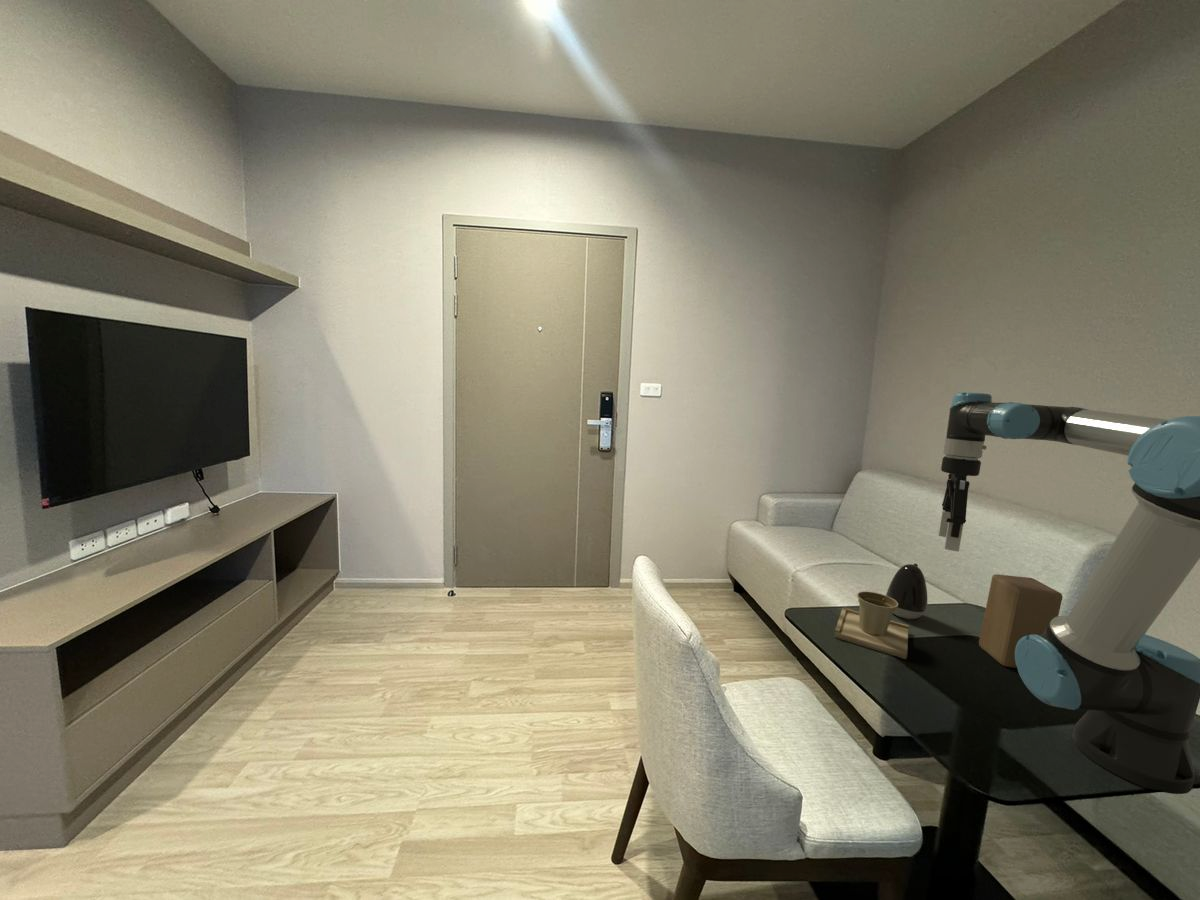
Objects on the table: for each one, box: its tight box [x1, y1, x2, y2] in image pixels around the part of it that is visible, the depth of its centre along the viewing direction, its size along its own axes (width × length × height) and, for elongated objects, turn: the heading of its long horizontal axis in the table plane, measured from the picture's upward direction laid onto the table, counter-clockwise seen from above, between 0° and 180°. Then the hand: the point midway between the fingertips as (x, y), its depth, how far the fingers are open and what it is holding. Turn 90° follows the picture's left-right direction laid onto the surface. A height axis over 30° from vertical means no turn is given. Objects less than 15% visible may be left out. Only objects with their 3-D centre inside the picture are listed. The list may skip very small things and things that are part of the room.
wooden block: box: [978, 573, 1063, 669], centre depth 122 cm, size 10×10×20 cm
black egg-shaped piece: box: [885, 563, 928, 620], centre depth 143 cm, size 10×10×15 cm
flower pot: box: [856, 590, 898, 636], centre depth 130 cm, size 9×9×9 cm
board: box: [833, 606, 909, 660], centre depth 131 cm, size 16×16×2 cm
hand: (947, 543), depth 122 cm, fingers open, 13 cm apart
